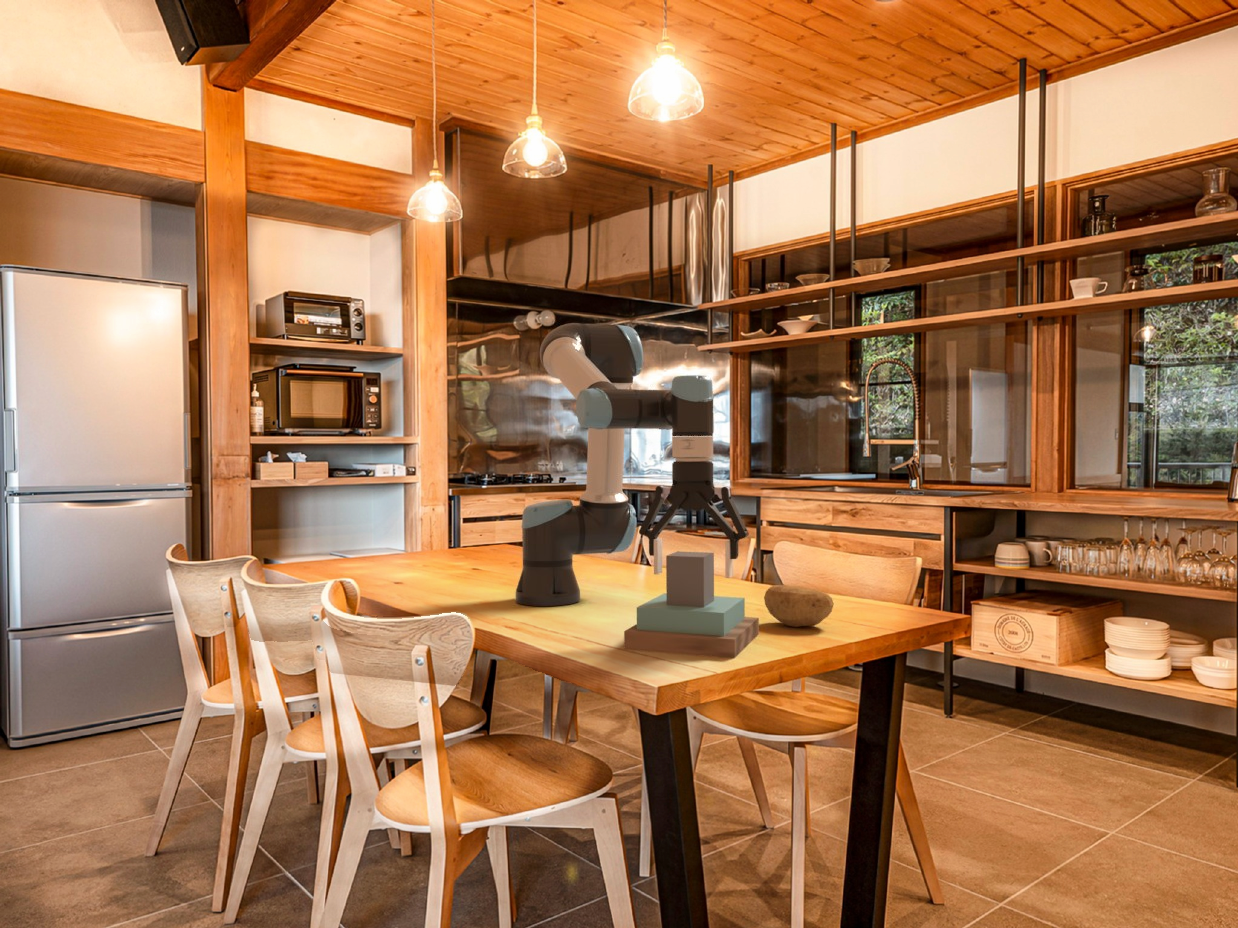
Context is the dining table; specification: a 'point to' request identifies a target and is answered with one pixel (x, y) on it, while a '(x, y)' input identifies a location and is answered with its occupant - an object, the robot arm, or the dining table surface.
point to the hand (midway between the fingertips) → (693, 575)
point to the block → (690, 579)
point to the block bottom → (694, 640)
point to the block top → (691, 616)
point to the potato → (798, 605)
